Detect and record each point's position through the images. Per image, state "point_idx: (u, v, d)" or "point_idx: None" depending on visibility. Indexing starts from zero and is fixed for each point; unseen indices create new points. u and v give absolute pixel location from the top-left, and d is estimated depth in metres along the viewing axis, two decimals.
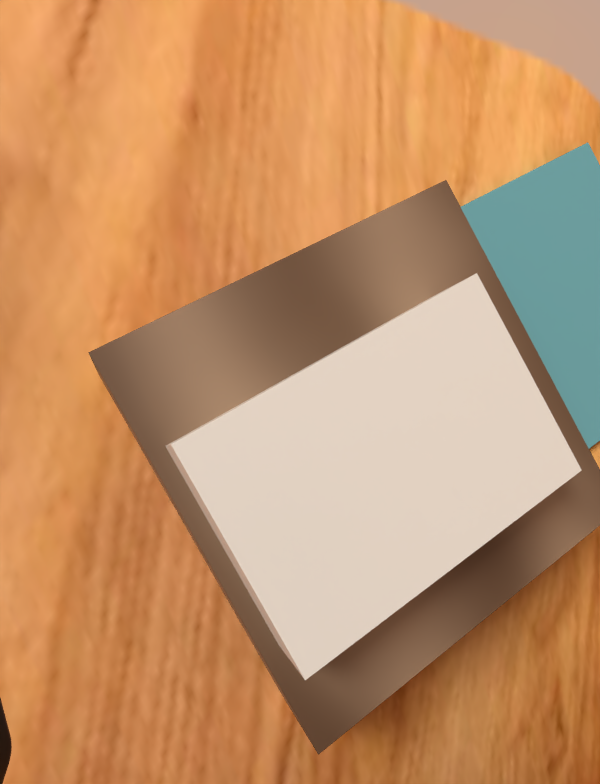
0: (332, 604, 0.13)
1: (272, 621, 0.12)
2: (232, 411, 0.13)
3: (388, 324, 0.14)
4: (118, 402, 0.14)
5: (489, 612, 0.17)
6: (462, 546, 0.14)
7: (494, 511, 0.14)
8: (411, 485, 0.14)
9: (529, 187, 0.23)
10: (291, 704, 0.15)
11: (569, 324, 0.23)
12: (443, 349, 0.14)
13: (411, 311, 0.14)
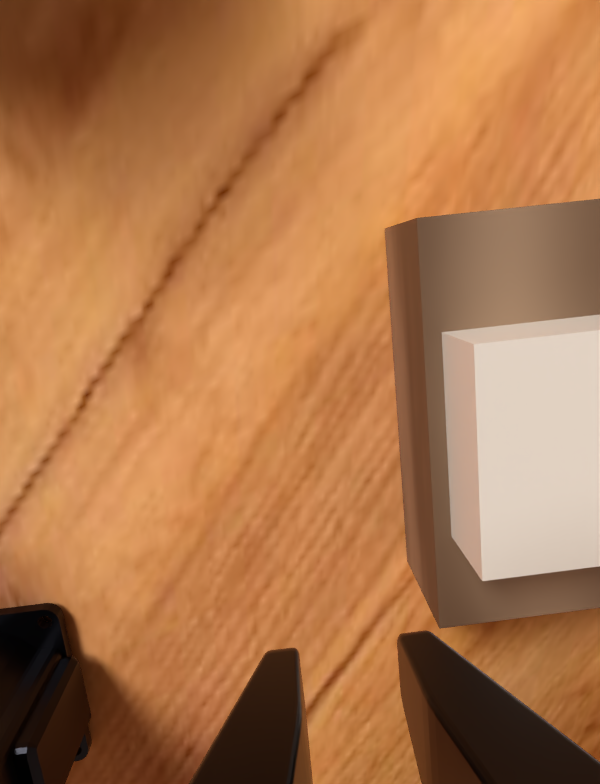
0: (534, 537, 0.14)
1: (480, 525, 0.14)
2: (539, 338, 0.13)
3: None
4: (420, 275, 0.15)
5: None
6: None
7: None
8: None
9: None
10: (438, 583, 0.17)
11: None
12: None
13: None
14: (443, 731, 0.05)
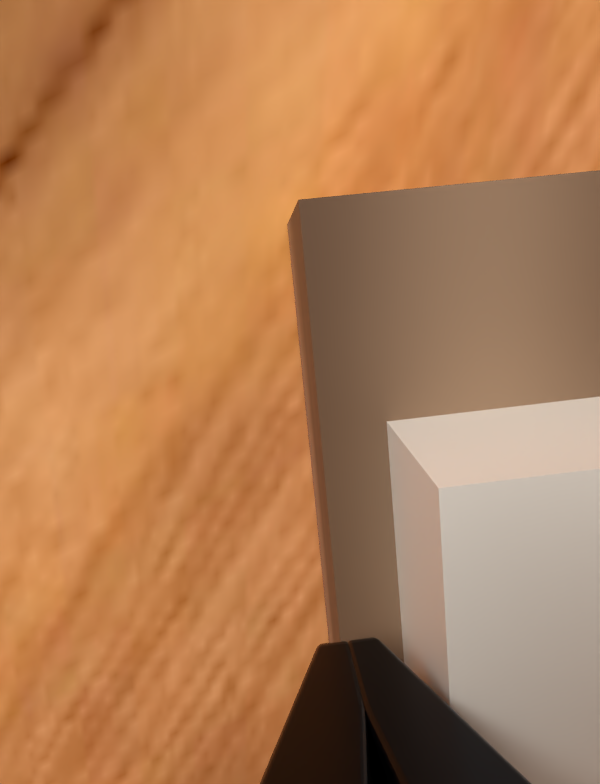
0: None
1: None
2: (593, 472, 0.05)
3: None
4: (311, 315, 0.07)
5: None
6: None
7: None
8: None
9: None
10: None
11: None
12: None
13: None
14: (374, 740, 0.05)
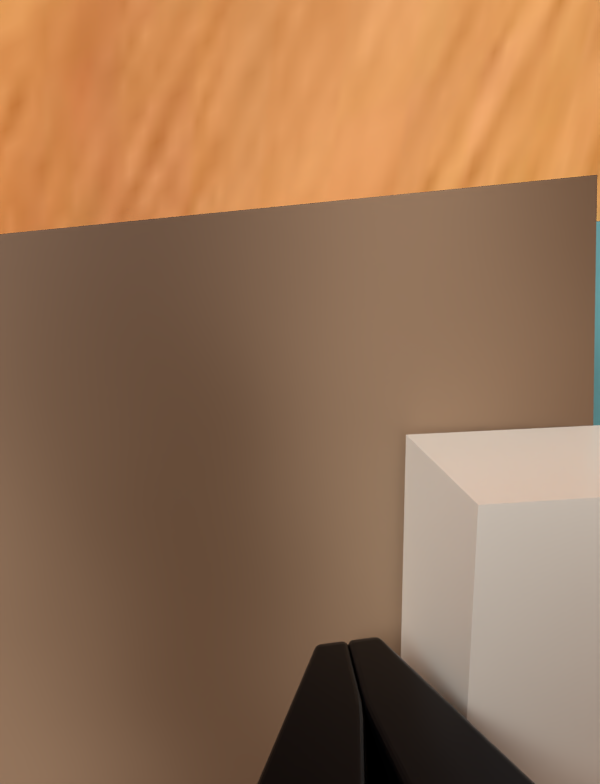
0: None
1: None
2: None
3: None
4: None
5: None
6: None
7: None
8: None
9: None
10: None
11: None
12: None
13: None
14: (377, 740, 0.05)
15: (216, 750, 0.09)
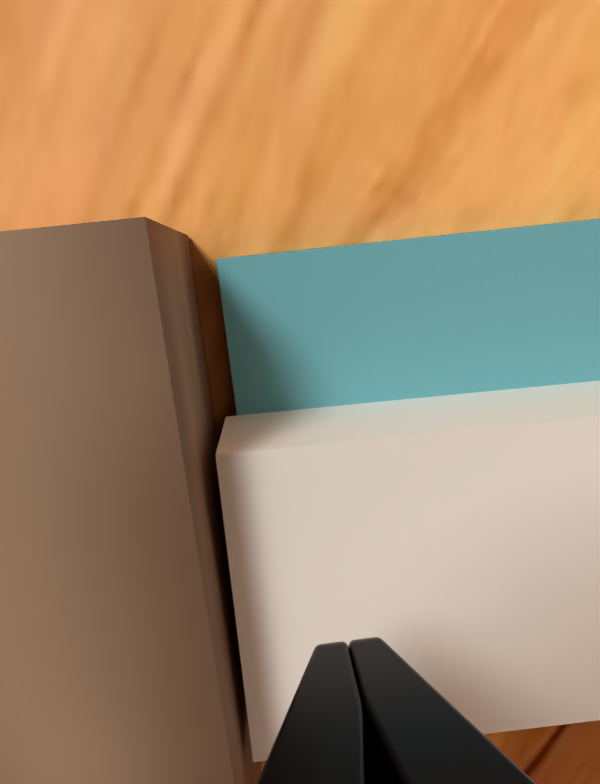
0: None
1: (245, 691, 0.10)
2: (309, 447, 0.09)
3: (577, 420, 0.09)
4: None
5: None
6: (511, 717, 0.10)
7: (575, 699, 0.10)
8: (489, 627, 0.10)
9: (524, 256, 0.11)
10: None
11: None
12: None
13: None
14: (378, 740, 0.05)
15: None
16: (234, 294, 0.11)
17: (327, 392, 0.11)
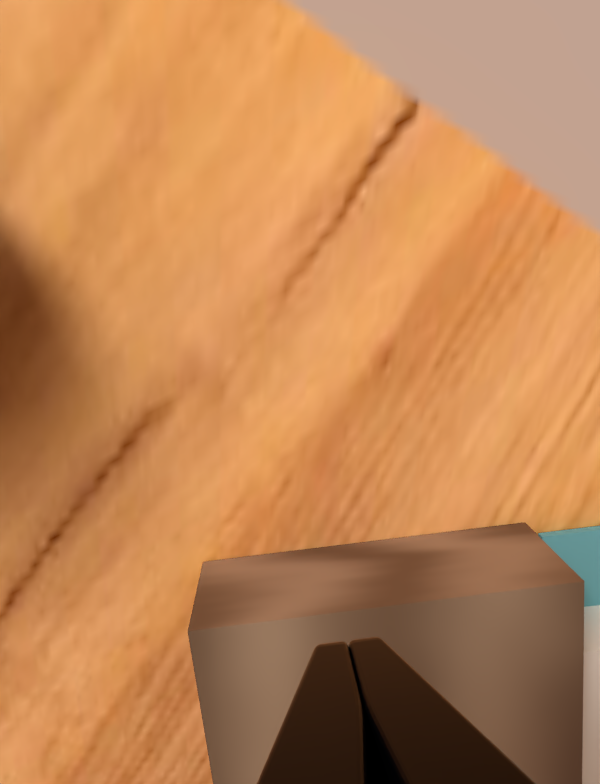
0: None
1: None
2: None
3: None
4: (196, 672, 0.17)
5: None
6: None
7: None
8: None
9: None
10: None
11: None
12: None
13: None
14: (378, 740, 0.05)
15: None
16: None
17: (590, 599, 0.21)
